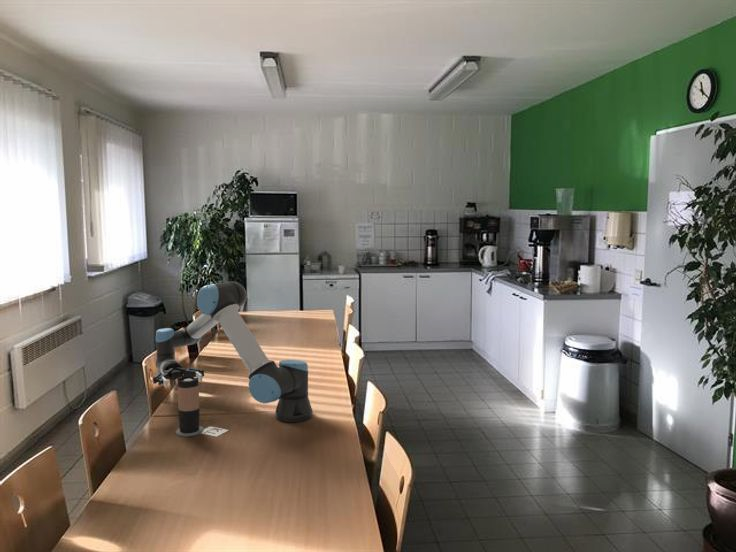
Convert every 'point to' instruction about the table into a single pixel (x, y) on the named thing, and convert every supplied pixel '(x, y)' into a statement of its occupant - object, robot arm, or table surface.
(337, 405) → the table surface
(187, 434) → the slate coaster
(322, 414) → the table surface
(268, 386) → the robot arm
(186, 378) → the travel mug
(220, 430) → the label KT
